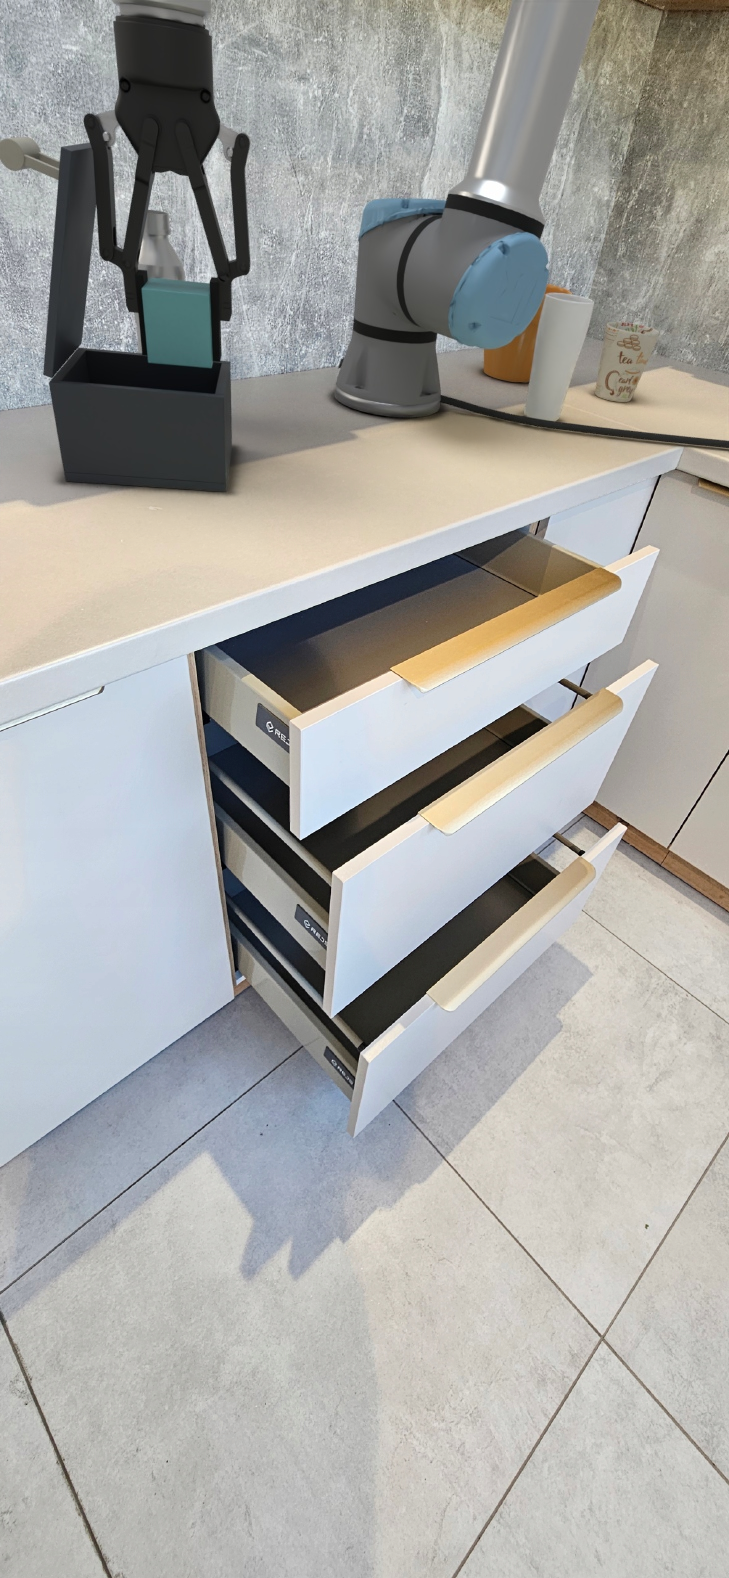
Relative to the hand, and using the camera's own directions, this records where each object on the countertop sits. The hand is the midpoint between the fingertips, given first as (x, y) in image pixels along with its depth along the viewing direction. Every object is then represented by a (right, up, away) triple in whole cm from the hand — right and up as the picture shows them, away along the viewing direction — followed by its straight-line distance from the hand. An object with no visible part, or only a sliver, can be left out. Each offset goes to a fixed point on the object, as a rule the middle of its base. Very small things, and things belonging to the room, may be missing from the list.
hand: (182, 354), depth 72 cm
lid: (-8, +5, -6) cm, 11 cm away
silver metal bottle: (-7, +4, +20) cm, 22 cm away
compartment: (-5, -8, +7) cm, 11 cm away
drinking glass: (+44, +12, +36) cm, 58 cm away
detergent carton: (0, 0, 0) cm, 0 cm away
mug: (+60, +24, +52) cm, 83 cm away
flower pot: (+43, +28, +54) cm, 74 cm away
